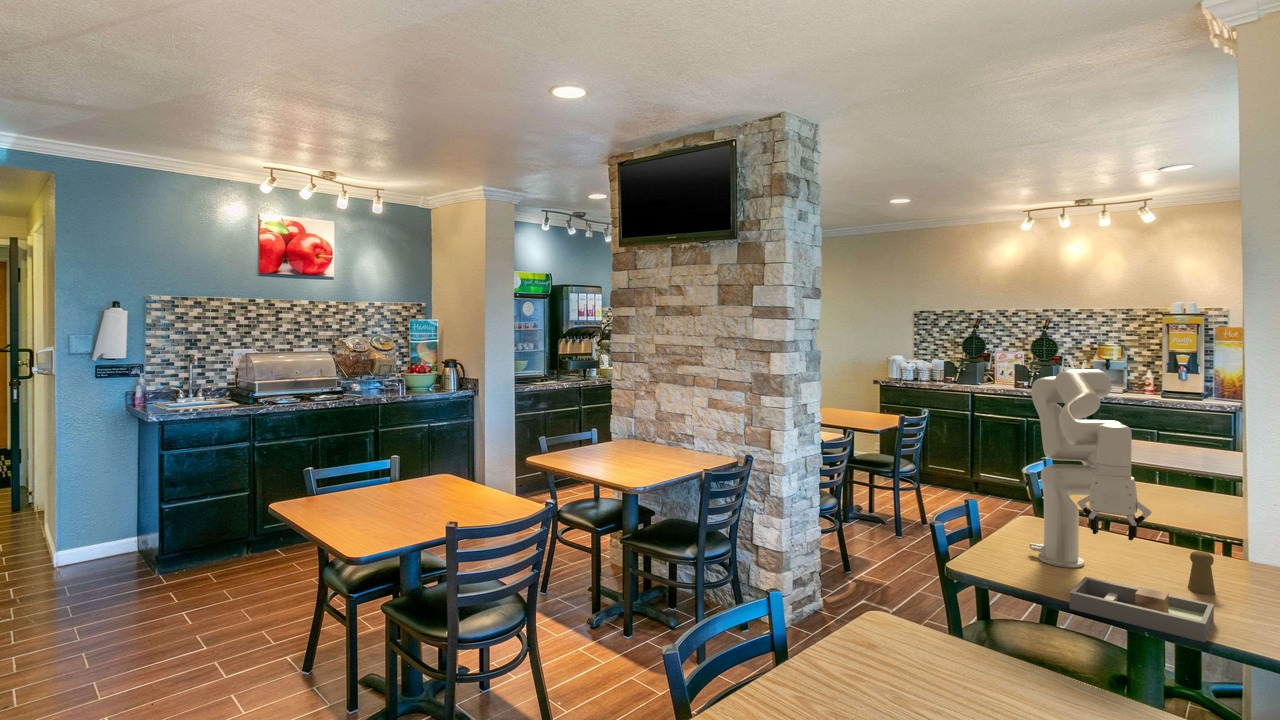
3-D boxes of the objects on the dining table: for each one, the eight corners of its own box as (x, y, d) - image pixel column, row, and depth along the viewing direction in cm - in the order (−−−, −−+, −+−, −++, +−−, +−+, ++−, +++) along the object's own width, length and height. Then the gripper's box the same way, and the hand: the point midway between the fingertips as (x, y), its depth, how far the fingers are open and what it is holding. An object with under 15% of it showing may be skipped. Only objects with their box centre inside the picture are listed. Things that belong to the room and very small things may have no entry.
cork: (1220, 595, 186) (1221, 556, 186) (1195, 593, 187) (1196, 555, 187) (1206, 587, 192) (1207, 549, 192) (1182, 585, 193) (1183, 548, 193)
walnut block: (1135, 610, 172) (1135, 593, 172) (1139, 603, 176) (1139, 587, 176) (1164, 617, 168) (1164, 599, 168) (1168, 610, 172) (1168, 593, 172)
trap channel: (1069, 608, 179) (1069, 592, 179) (1085, 592, 190) (1085, 576, 190) (1205, 642, 158) (1205, 624, 158) (1213, 621, 170) (1213, 604, 169)
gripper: (1072, 468, 181) (1071, 532, 181) (1151, 477, 168) (1150, 546, 169) (1079, 464, 186) (1078, 526, 187) (1157, 473, 173) (1156, 539, 174)
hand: (1113, 535), depth 178 cm, fingers open, 7 cm apart
